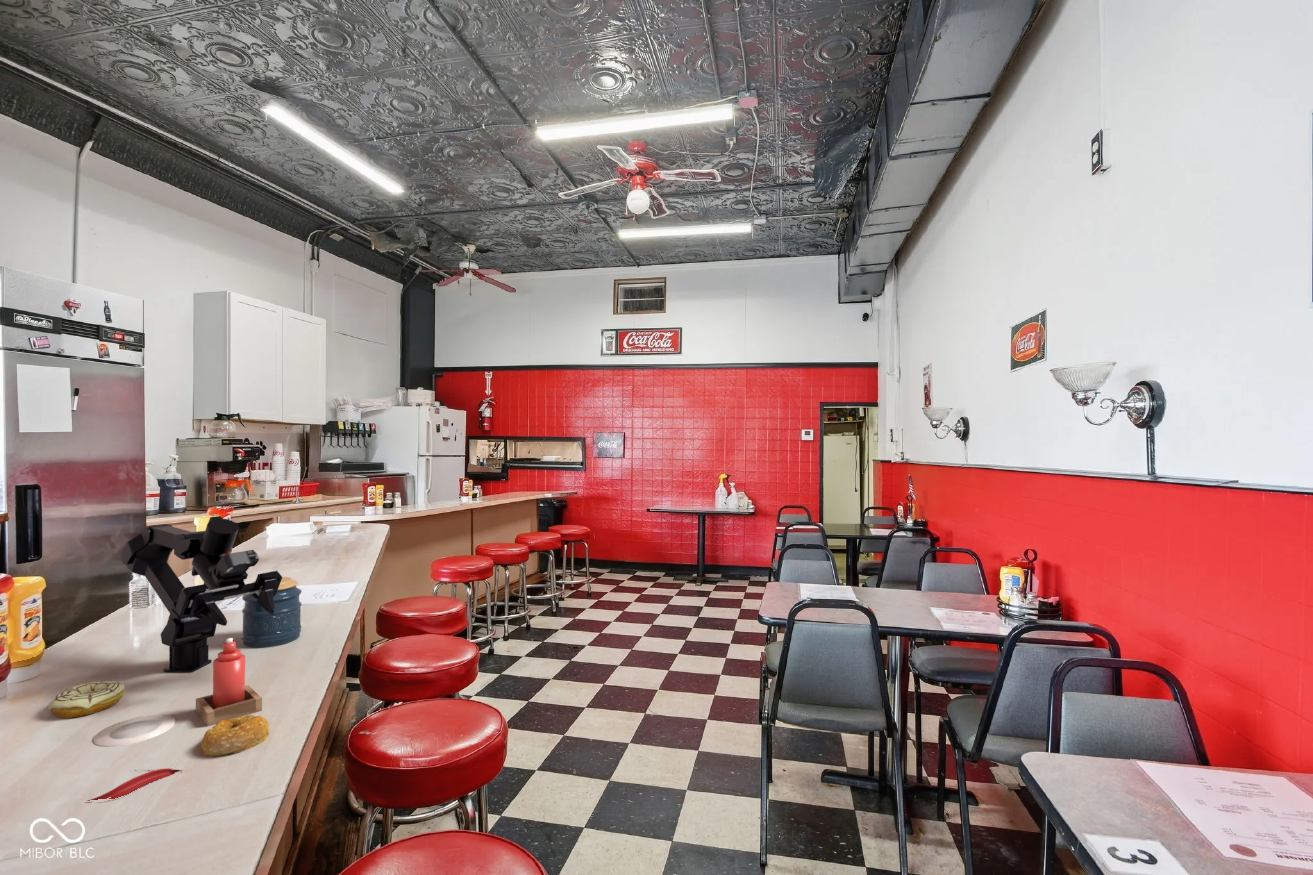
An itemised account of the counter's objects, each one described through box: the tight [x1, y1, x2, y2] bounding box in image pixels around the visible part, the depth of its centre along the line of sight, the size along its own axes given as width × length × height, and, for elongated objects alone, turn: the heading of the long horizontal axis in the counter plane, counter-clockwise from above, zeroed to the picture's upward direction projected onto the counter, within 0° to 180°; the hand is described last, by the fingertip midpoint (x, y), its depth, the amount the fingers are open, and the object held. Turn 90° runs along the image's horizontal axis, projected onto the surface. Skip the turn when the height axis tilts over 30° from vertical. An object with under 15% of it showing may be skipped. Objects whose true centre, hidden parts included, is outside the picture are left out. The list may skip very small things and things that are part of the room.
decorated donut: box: [47, 680, 126, 719], centre depth 119 cm, size 10×11×4 cm
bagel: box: [200, 714, 270, 757], centre depth 106 cm, size 10×11×5 cm
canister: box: [241, 570, 303, 648], centre depth 158 cm, size 13×13×18 cm
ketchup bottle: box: [212, 637, 246, 709], centre depth 117 cm, size 5×5×14 cm
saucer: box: [93, 714, 176, 747], centre depth 109 cm, size 11×11×1 cm
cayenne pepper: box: [87, 767, 182, 801], centre depth 93 cm, size 12×5×2 cm, turn 131°
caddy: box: [195, 685, 263, 727], centre depth 117 cm, size 9×9×3 cm
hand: (250, 617), depth 126 cm, fingers open, 9 cm apart
